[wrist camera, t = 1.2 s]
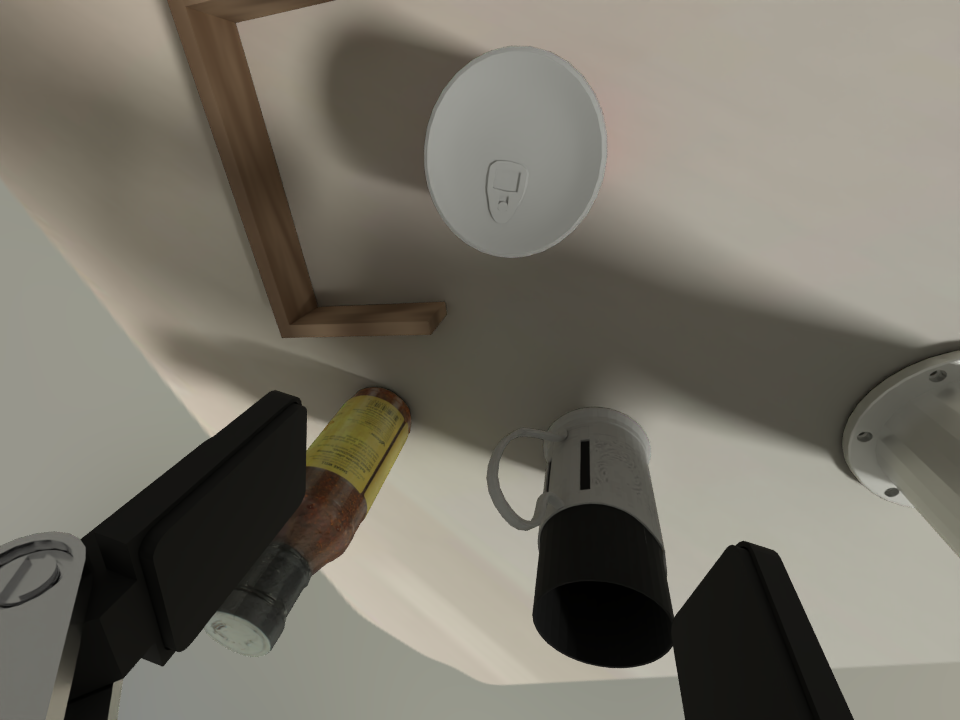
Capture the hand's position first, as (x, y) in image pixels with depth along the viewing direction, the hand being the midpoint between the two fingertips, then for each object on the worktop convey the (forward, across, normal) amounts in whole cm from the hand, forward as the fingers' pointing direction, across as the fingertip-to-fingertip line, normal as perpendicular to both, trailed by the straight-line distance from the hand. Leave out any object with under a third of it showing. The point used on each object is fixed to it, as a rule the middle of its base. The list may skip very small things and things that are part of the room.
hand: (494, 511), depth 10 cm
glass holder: (+24, -5, +13) cm, 28 cm away
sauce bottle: (+24, +11, +18) cm, 32 cm away
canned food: (+24, +3, -6) cm, 25 cm away
